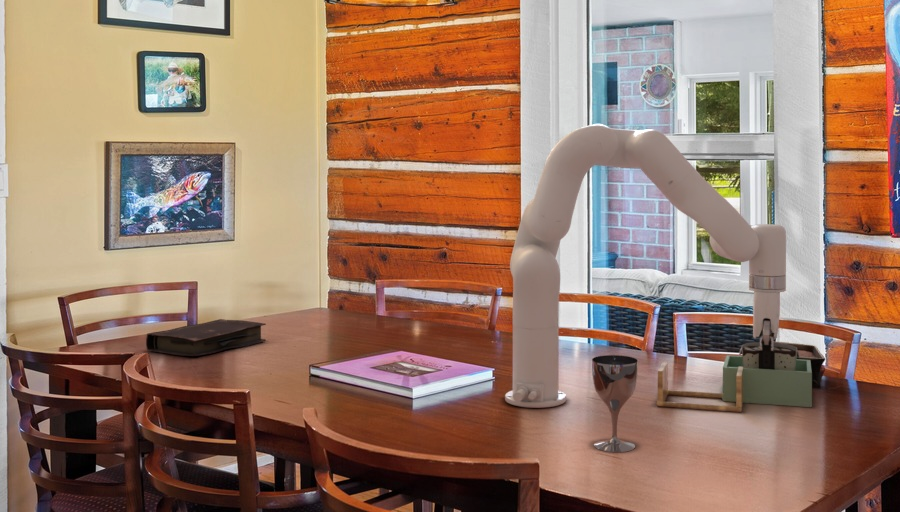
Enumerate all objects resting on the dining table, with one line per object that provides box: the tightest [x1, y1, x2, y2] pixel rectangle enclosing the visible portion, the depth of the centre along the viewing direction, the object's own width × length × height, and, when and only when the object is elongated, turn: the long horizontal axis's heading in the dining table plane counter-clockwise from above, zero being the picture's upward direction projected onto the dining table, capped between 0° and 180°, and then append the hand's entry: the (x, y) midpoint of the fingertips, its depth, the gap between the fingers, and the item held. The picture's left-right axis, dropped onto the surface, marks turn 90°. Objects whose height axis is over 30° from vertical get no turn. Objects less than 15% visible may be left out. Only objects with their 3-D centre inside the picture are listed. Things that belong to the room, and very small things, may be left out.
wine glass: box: [591, 354, 639, 453], centre depth 169 cm, size 8×8×15 cm
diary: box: [145, 318, 267, 357], centre depth 255 cm, size 19×25×5 cm
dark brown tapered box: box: [774, 340, 826, 388], centre depth 218 cm, size 14×18×10 cm
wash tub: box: [722, 354, 813, 408], centre depth 203 cm, size 13×18×7 cm
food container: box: [738, 341, 800, 371], centre depth 203 cm, size 12×6×10 cm, turn 84°
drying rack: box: [656, 361, 744, 413], centre depth 198 cm, size 11×17×7 cm, turn 74°
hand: (767, 365), depth 203 cm, fingers open, 8 cm apart
